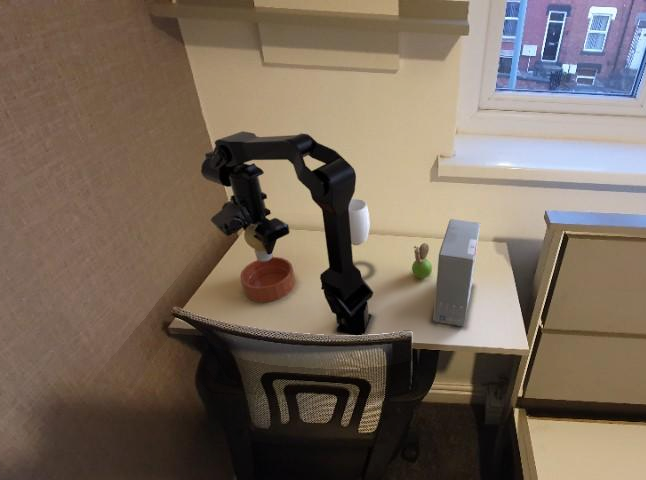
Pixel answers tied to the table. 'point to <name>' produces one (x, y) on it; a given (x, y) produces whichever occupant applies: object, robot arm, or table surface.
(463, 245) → the hard drive box
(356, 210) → the cup
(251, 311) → the table surface
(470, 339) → the table surface
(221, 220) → the robot arm
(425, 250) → the snail figurine
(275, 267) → the bowl
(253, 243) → the light bulb
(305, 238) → the table surface
